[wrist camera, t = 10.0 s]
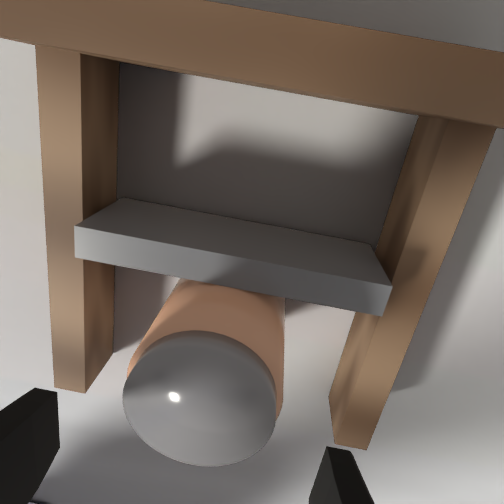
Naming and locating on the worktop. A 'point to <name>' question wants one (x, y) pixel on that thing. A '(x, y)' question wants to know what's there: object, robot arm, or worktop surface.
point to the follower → (235, 254)
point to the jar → (208, 374)
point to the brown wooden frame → (266, 76)
